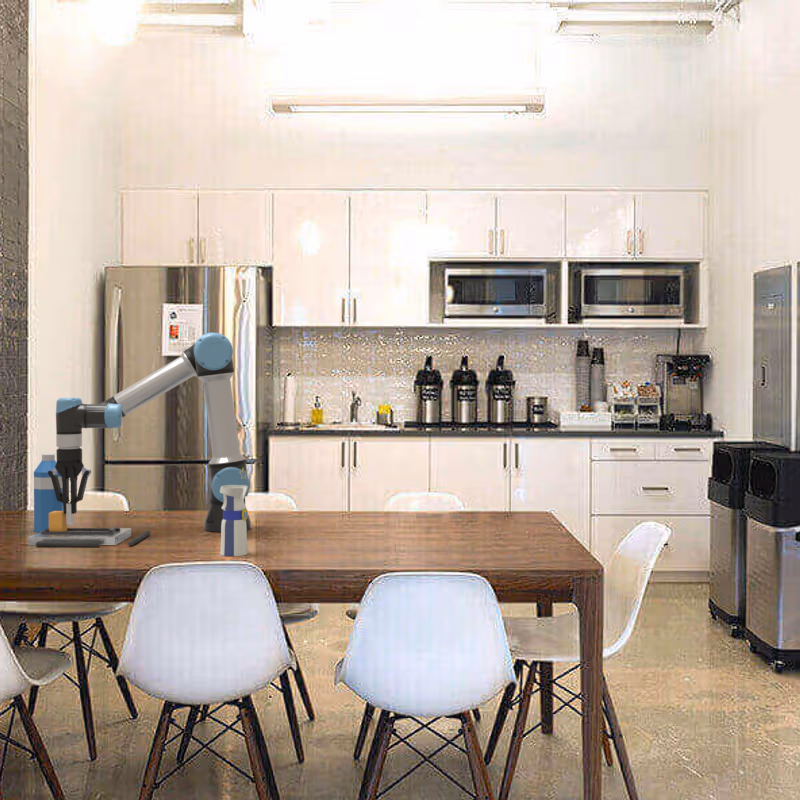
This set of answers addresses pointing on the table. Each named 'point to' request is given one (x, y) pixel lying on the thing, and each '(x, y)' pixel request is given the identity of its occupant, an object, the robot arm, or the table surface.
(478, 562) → the table surface
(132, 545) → the rounded gray dowel
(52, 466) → the water bottle
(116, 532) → the panel
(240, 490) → the white tall piece
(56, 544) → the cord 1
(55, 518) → the matte orange cube
